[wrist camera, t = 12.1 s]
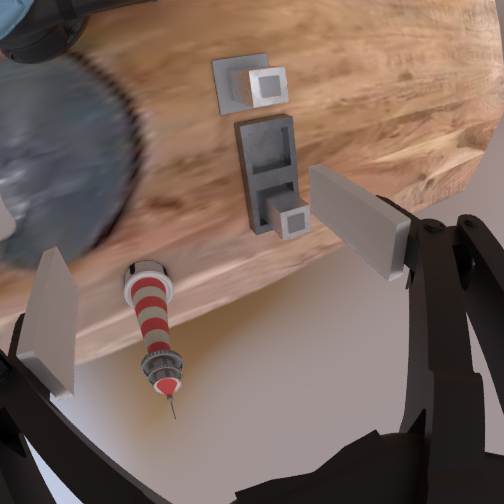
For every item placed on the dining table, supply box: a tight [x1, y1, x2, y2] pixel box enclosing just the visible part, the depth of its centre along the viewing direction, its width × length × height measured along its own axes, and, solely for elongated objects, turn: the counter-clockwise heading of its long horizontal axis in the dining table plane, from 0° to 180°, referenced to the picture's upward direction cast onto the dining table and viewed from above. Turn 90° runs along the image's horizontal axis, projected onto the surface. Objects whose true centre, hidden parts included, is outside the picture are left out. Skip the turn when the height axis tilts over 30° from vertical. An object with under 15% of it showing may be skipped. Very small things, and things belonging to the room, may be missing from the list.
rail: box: [234, 114, 299, 235], centre depth 55 cm, size 20×9×3 cm, turn 8°
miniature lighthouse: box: [124, 261, 184, 419], centre depth 47 cm, size 9×9×30 cm
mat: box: [211, 53, 274, 115], centre depth 46 cm, size 9×9×1 cm
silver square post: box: [257, 184, 310, 240], centre depth 54 cm, size 5×5×10 cm
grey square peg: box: [227, 66, 289, 107], centre depth 41 cm, size 5×5×10 cm
